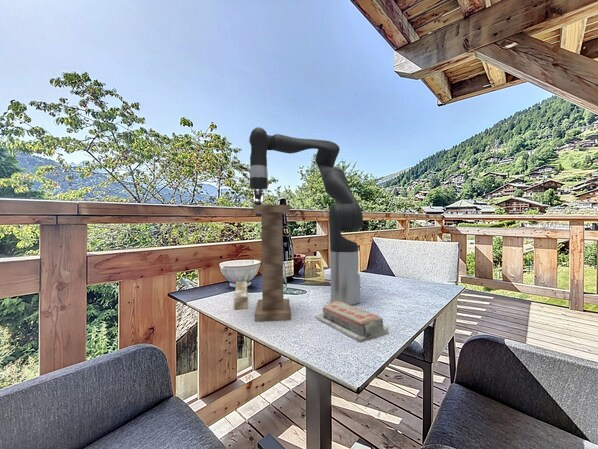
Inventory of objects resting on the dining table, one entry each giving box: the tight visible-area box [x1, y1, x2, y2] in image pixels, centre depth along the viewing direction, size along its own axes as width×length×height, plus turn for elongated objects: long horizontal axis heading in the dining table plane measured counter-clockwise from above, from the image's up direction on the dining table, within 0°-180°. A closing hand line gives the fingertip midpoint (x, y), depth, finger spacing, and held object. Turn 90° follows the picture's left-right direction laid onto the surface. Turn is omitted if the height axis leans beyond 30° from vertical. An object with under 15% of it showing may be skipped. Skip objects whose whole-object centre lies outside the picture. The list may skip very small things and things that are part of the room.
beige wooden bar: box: [234, 280, 249, 311], centre depth 95 cm, size 4×24×4 cm, turn 12°
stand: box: [252, 204, 292, 322], centre depth 80 cm, size 10×14×32 cm
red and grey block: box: [314, 301, 389, 343], centre depth 69 cm, size 18×5×10 cm
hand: (259, 216), depth 111 cm, fingers open, 8 cm apart
